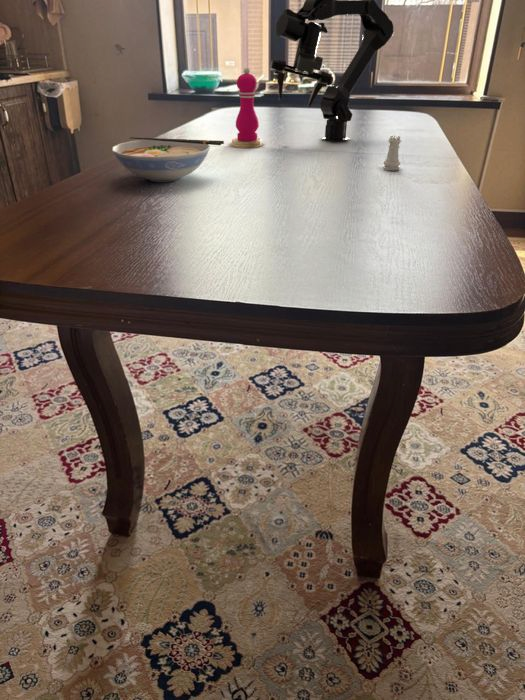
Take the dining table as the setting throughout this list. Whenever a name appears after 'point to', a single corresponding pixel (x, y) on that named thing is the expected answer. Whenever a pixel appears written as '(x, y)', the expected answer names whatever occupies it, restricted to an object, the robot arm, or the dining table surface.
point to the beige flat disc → (246, 143)
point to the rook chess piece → (392, 155)
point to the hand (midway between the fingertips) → (294, 103)
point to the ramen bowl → (163, 157)
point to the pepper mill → (247, 108)
